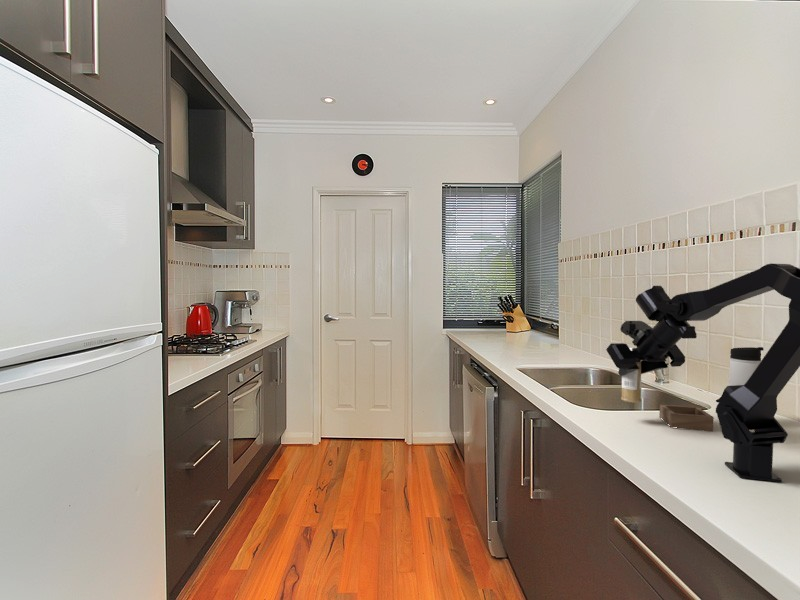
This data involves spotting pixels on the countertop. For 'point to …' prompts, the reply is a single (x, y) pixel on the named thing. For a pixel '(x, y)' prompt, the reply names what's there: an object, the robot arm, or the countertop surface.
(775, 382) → the robot arm
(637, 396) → the sprinkles bottle
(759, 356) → the travel mug
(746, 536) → the countertop surface
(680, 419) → the walnut collar
